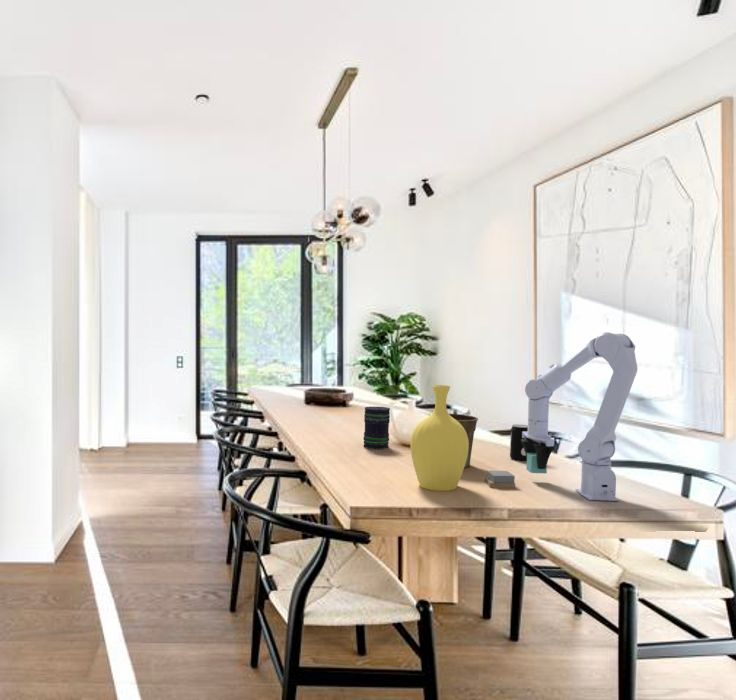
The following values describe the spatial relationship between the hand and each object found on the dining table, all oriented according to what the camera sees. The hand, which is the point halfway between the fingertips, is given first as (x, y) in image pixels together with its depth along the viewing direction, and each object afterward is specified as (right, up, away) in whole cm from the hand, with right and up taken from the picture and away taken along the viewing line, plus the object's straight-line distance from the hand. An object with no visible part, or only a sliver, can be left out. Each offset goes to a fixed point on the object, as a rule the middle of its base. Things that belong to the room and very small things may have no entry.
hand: (536, 466), depth 156 cm
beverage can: (+4, -5, +32) cm, 33 cm away
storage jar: (-47, -3, +46) cm, 66 cm away
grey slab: (-12, -3, -5) cm, 13 cm away
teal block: (0, -2, 0) cm, 2 cm away
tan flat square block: (-12, -5, -5) cm, 14 cm away
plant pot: (-22, -4, +19) cm, 29 cm away
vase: (-30, -4, -9) cm, 32 cm away
